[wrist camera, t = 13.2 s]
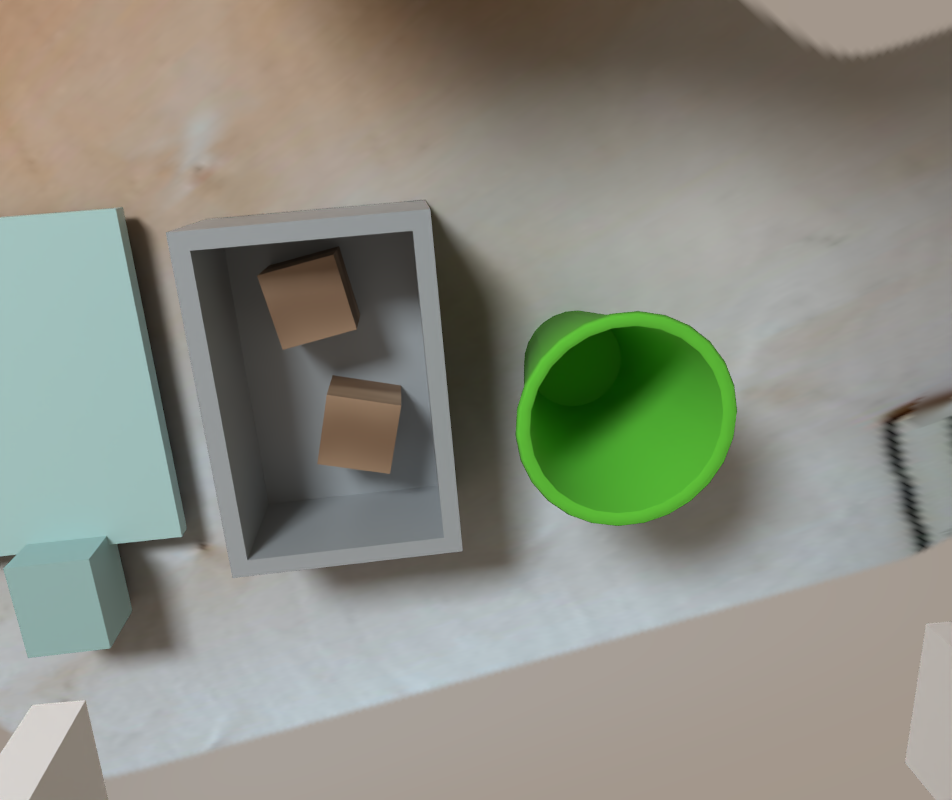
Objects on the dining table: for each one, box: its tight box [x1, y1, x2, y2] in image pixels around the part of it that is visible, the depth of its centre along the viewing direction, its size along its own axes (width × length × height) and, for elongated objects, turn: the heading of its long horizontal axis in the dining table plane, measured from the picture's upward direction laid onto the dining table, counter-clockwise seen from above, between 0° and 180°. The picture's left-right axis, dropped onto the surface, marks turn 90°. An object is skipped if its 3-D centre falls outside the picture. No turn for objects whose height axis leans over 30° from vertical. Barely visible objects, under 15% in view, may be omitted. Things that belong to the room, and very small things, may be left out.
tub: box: [166, 200, 463, 578], centre depth 38 cm, size 16×11×7 cm
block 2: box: [317, 375, 401, 474], centre depth 40 cm, size 4×4×4 cm
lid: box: [0, 207, 187, 658], centre depth 39 cm, size 21×11×4 cm, turn 4°
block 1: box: [257, 246, 360, 350], centre depth 38 cm, size 4×4×4 cm
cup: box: [516, 311, 737, 526], centre depth 37 cm, size 9×9×11 cm
